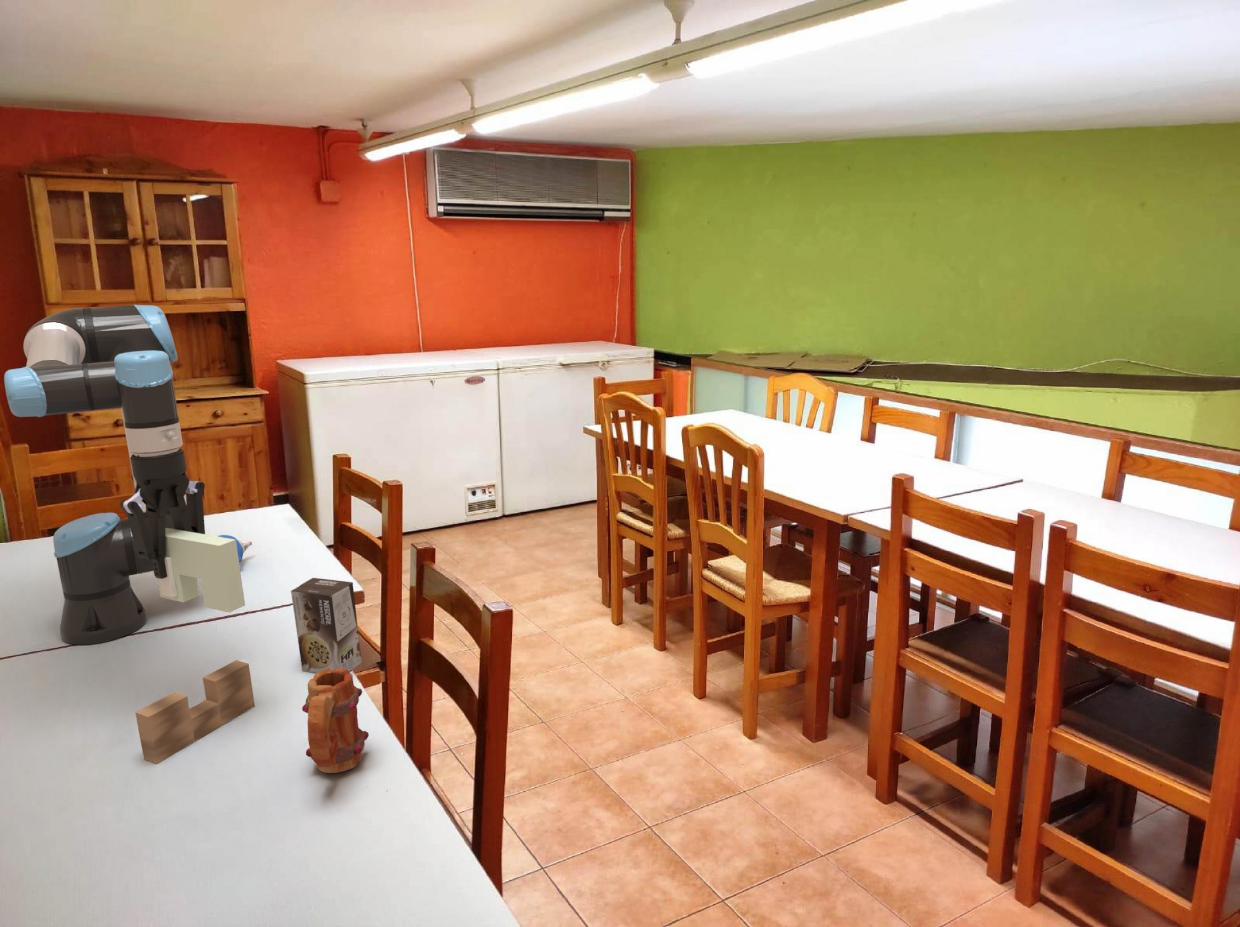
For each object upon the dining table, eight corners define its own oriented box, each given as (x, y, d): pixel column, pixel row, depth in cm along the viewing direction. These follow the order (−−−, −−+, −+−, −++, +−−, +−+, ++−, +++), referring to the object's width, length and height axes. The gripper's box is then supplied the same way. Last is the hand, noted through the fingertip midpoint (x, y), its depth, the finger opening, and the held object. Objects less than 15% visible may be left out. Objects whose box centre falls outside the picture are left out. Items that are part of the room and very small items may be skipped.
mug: (320, 746, 131) (309, 659, 127) (373, 743, 131) (364, 656, 128) (293, 807, 117) (280, 711, 113) (353, 803, 117) (342, 707, 114)
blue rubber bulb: (269, 563, 207) (265, 531, 205) (224, 579, 198) (219, 545, 195) (239, 554, 213) (235, 523, 211) (195, 570, 204) (190, 537, 202)
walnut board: (156, 763, 127) (148, 716, 125) (143, 758, 129) (135, 712, 126) (254, 706, 143) (248, 663, 141) (242, 702, 144) (236, 659, 142)
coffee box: (363, 661, 157) (354, 581, 153) (341, 678, 151) (332, 595, 147) (322, 655, 160) (313, 576, 156) (299, 671, 154) (289, 589, 150)
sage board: (160, 597, 138) (149, 533, 135) (177, 590, 140) (166, 527, 138) (229, 612, 131) (219, 545, 128) (245, 605, 133) (235, 539, 131)
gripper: (123, 464, 123) (149, 613, 129) (217, 442, 137) (237, 576, 143) (91, 460, 126) (118, 605, 132) (186, 438, 140) (206, 570, 146)
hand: (179, 590), depth 137 cm, fingers closed on sage board, 3 cm apart
